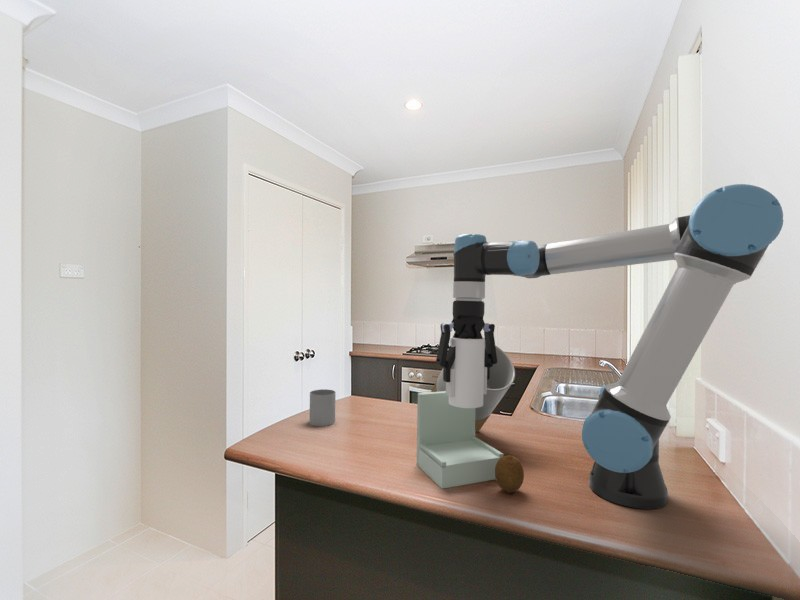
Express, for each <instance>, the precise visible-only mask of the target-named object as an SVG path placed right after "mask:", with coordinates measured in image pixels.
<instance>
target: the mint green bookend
mask: <svg viewBox="0 0 800 600" xmlns="http://www.w3.org/2000/svg"><path fill="white" fill-rule="evenodd" d="M416 413H417V417H416V418H417V419H416V420H417V421H416V422H417V423H416V429H417V430H416V466H417V467H419V468H420V469H421V470H422V471H423V473H425V475H427V476H428V477H429V478H430V479H431V480H432V481H433V482H434V483H435V484H436V485H437V486H439V488H440V489H447V488H454V487H459V486H465V485H471V484H477V483H483V482H488V481H494V480H495V481H496V478H495V466H496V463H497V462H498V460H499V459H500V458H501V457H502V456H504V453H502V451H499V450H498V449H497V448H495V447H493V446H492V445H490V444H488V443H486V442H485V441H483V440H482V439H480V438H478V437H476V431H475V408H460V407H455V406H452V405H450V404H449V396H448V395H446V391H441V392H431V391H429V392H428V391H427V392H418V393H417V412H416Z"/></svg>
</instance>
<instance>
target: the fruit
mask: <svg viewBox="0 0 800 600" xmlns="http://www.w3.org/2000/svg"><path fill="white" fill-rule="evenodd" d="M495 478H496V479H495V481H496V483H497V485H498V487H499V488H500V489H501V490H503V491H505V492H506V493H514V492H517V491H518V490H519V489H520V488H521V487H522V486H523V483H524V479H525V472H524V467H523V464H522V462H521V461H520V460H519V459H518V458H517V457H515V456H513V455H511V454H508V455H503V456H502V457H501V458H500V459H499V460H498V462H497V463H496V466H495Z"/></svg>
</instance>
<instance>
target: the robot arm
mask: <svg viewBox="0 0 800 600" xmlns="http://www.w3.org/2000/svg"><path fill="white" fill-rule="evenodd" d="M783 224H784V212H783V208H782V206H781V203H780V202H779V200H778V198H777V197H776V196H775V195H774V194H772V193H771V192H770V191H768V190H767V189H765V188H762V187H760V186H757V185H753V184H745V183H744V184H743V183H739V184H737V183H736V184H730V185H725V186H722V187H719V188H716V189H714V190H712V191H710V192H709V193H708V194H706V195H705V196H704V197H702V198H701V199H700V200H699V201H698V202H697V203H696V204H695V206H694V207H693V208H692V210H691V212H690V214H688V215H685V216H678V217H675V218H674V219H673V220H672V221H671V222H670V223H666V224H661V225H655V226H648V227H643V228H635V229H631V230H625V231H618V232H612V233H607V234H601V235H594V236H588V237H582V238H575V239H570V240H569V239H568V240H565V241H558V242H551V243H547V244H540V245H537V243H536V242H535V241H533V240H522V239H520V240H519V239H518V240H512V241H510V240H509V241H499V242H498V241H497V242H487V237H486V236H485V235H484V234H480V233H478V234H477V233H473V234H472V233H471V234H470V233H464V234H460V235H457V237H455V239H454V250H453V283H452V284H453V288H452V291H453V292H452V298H454V299H455V300H453V301H452V320H451V321H450V322H448V323H443V322H442V323H441V324H440V339H439V344H438V348H437V354H436V360H435V364H436V365H437V366H441V367H442V369H443V380H444V381H445V382H446V395H448V396H450V397H454V376H455V369H453V368H451V367H452V365H453V363H454V360H455V354H456V346H455V347H451V345H450V337H451V333H452V331H454V334H453V335H452V336H453V338H460V339H469V338H471V339H483V335H484V338H485V344H486V349H485V356H484V394H487V380H489V378H490V367H492V366H493V364H496V363H497V355H496V347H495V345H496V341H495V329H496V328H495V327H496V325H495V324H494V323H489V322H485V321H484V320H485V319H484V316H485V306H486V305H485V301H483V300H484V299H485V298H486V275H487V276H512V277H513V276H515V277H521V278H524V279H525V278H526V279H538V278H540V277H543V276H544V277H545V276H550V275H559V274H567V273H574V272H575V273H577V272H586V271H592V270H600V269H601V270H602V269H608V268H618V267H625V266H626V267H627V266H635V265H643V264H650V263H660V262H666V261H667V262H668V261H675V262H676V266H677V268H676V269H675V271H674V273H673V275H672V277H671V279H670V280H669V283H668V284H667V286H666V288H665V290H664V292H663V294H662V296H661V297H660V300H659V302H658V304H657V305H656V308H655V310H654V311H653V314H652V316H651V317H650V319H649V321H648V323H647V325H646V327H645V329H644V331H643V333H642V335H641V336H640V339H639V340H638V343H637V344H636V346H635V348H634V350H633V352H632V353H631V356H630V357H629V360H628V361H627V364H626V365H625V367H624V369H623V371H622V372H621V375H620V377H619V379H618V381H616V382H611V383H608V384H607V383H606V385H603V386H600V389H599V394H598V401H597V402H596V404H595V406H594V408H593V409H592V411H591V413H590V414H589V415H588V416H587V417H586V418H585V420H584V421H583V424H582V429H581V441H582V444H583V446H584V449H585V451H586V452H587V454H588V455H589V457H590V458H591V459H592V460H593V461H594V462H593V466H592V467H591V468H592V469H591V471H590V473H589V476H588V477H589V478H588V479H589V481H588V482H589V488H590V489H591V491H592V492H594V493H595V494H596V495H598V496H599V497H600V498H603V499H605V500H607V501H609V502H612V503H614V504H617V505H621V506H623V507H624V506H625V507H628V508H629V507H630V508H634V509H644V510H653V509H654V510H655V509H660V508H663V507H664V506H666V505H667V504H668V502H669V501H668V498H669V495H668V494H669V492H668V488H667V485H666V482H665V480H664V475H663V473H662V469H661V466H660V463H659V462H660V461H659V460H660V459H659V457H660V455H659V452H660V438H661V435H662V434H663V432H664V431H665V428H667V425H668V423H669V422H670V420H671V418H672V417H671V414H670V412H669V409H668V407H667V406H668V402H669V401H670V399H671V398H672V396H673V394H674V392H675V390H676V389H677V387H678V385H679V383H680V382H681V380H682V377H683V376H684V374H685V372H686V371H687V369H688V367H689V365H690V364H691V362H692V360H693V359H694V357H695V354H696V353H697V351H698V349H699V347H700V345H701V344H702V342H703V340H704V339H705V337H706V335H707V333H708V332H709V329H710V328H711V326H712V324H713V323H714V321H715V319H716V317H717V316H718V313H719V311H720V310H721V308H722V306H723V305H724V303H725V301H726V299H727V297H728V296H729V294H730V292H731V291H732V289H733V287H734V285H736V284H737V283H740V282H744V281H747V280H749V279H751V277H752V275H753V274H754V272H755V270H756V268H757V267H758V265H759V263H760V261H761V260H762V258H763V256H764V254H765V252H766V251H767V250H768V247H769V245H770V244H772V243H773V241H775V240H776V239H777V238H778V236H779V234H780V232H781V231H782V228H783ZM482 331H484V332H483V335H482Z"/></svg>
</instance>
